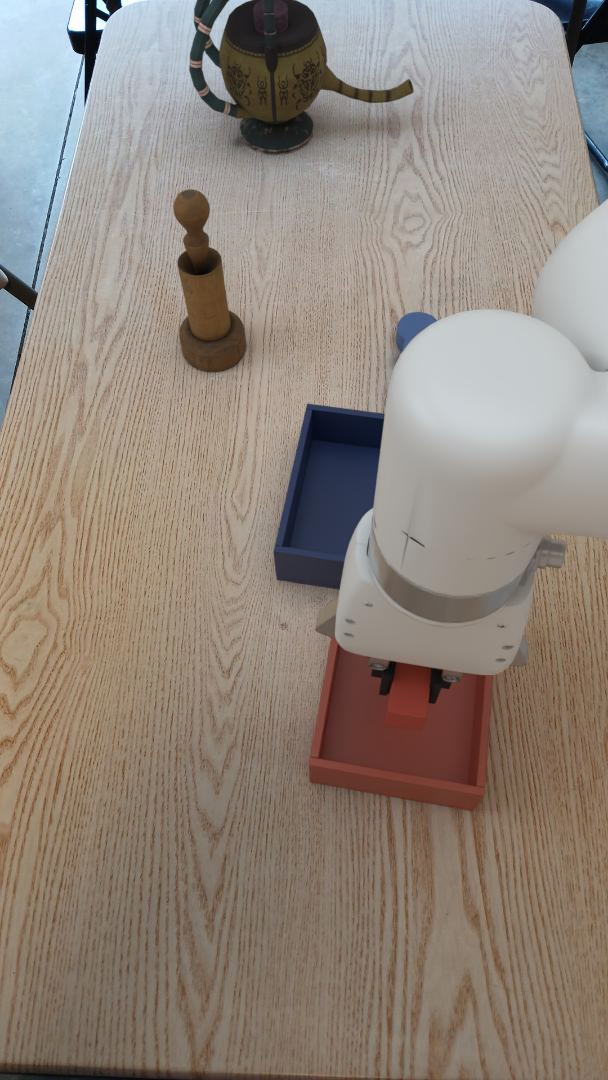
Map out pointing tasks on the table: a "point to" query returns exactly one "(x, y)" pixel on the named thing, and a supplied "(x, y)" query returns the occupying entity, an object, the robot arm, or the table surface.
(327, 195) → the table surface
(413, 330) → the blue spoon
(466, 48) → the table surface
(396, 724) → the red spoon
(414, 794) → the red bin
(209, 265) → the mortar and pestle
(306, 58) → the teapot
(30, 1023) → the table surface
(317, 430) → the blue bin
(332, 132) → the table surface
